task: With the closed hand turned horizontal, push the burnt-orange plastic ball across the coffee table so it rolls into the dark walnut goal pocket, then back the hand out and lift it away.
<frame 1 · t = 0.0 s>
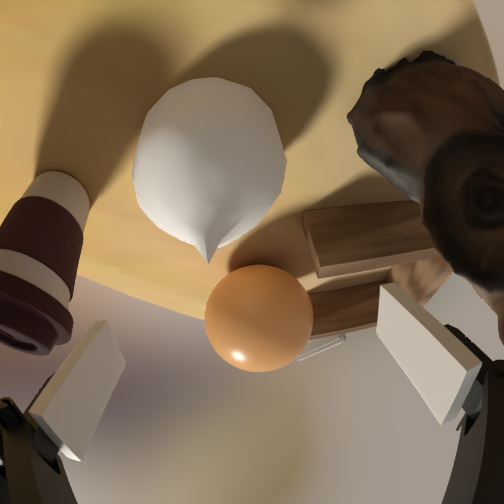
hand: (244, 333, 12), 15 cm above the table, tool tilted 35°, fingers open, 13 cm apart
ball: (259, 318, 33), point 6 cm above the table
coffee cup: (61, 196, 22), on the table
goal pocket: (359, 257, 37), on the table
cassette: (310, 313, 51), on the table
teardrop: (208, 139, 21), on the table
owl: (410, 111, 19), on the table
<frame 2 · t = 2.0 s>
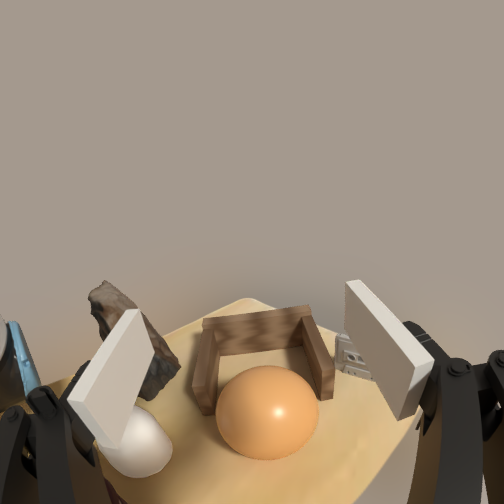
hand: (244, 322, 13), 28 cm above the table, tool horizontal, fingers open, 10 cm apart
ball: (267, 413, 30), point 6 cm above the table
goal pocket: (263, 374, 47), on the table
cassette: (364, 376, 42), on the table
teardrop: (139, 451, 31), on the table
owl: (152, 378, 48), on the table
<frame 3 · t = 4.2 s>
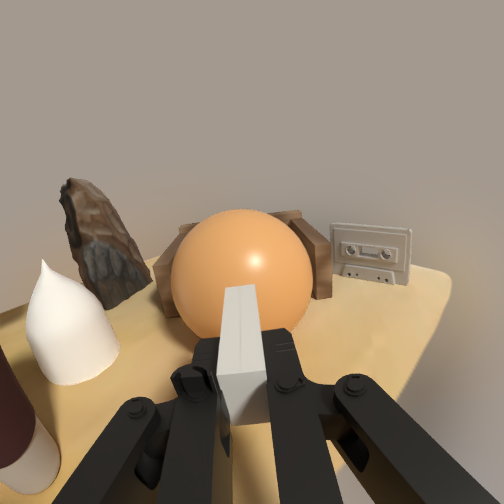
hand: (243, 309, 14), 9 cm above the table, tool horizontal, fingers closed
ball: (241, 280, 25), point 6 cm above the table
coffee cup: (31, 464, 10), on the table
goal pocket: (246, 280, 42), on the table
cassette: (368, 279, 37), on the table
teardrop: (80, 357, 26), on the table
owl: (118, 293, 43), on the table
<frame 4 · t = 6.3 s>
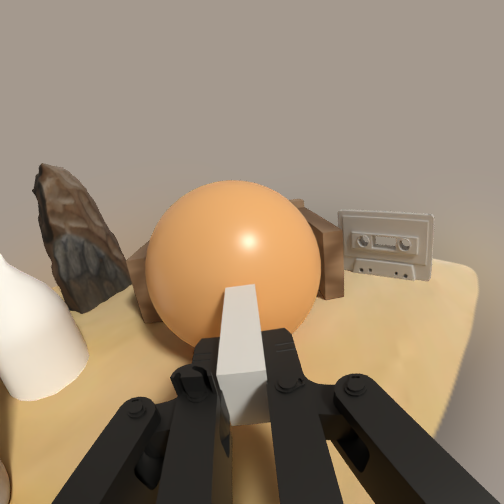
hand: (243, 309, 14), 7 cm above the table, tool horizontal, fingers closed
ball: (232, 268, 21), point 6 cm above the table, tilted 9°, touching gripper
goal pocket: (241, 278, 36), on the table
cassette: (384, 276, 31), on the table
teardrop: (45, 367, 19), on the table
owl: (97, 294, 36), on the table
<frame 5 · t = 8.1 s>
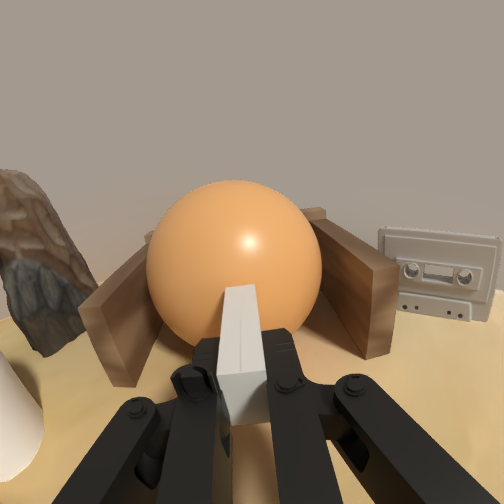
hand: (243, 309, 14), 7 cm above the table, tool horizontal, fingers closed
ball: (233, 268, 21), point 6 cm above the table, tilted 62°, touching gripper
goal pocket: (244, 317, 26), on the table
cassette: (432, 314, 21), on the table
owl: (66, 328, 27), on the table
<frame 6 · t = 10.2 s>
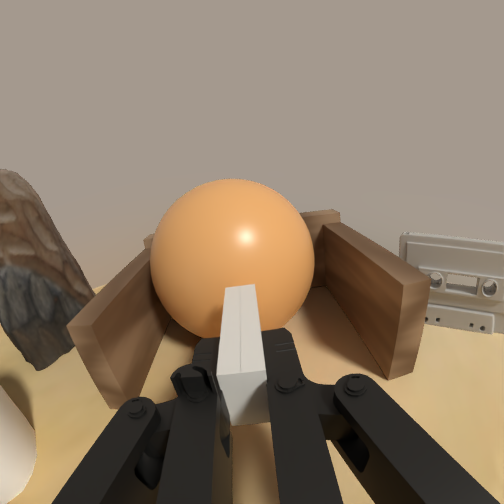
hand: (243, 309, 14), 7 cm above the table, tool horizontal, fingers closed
ball: (232, 261, 22), point 6 cm above the table, tilted 92°
goal pocket: (253, 331, 24), on the table
cassette: (453, 326, 18), on the table
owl: (61, 337, 25), on the table
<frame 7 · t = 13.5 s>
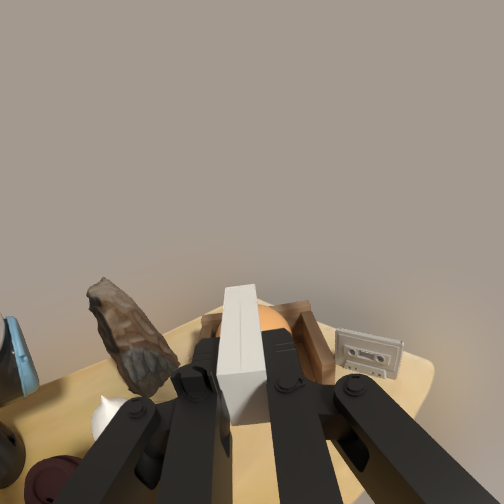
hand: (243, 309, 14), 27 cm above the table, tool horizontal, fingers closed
ball: (253, 342, 45), point 6 cm above the table, tilted 90°
goal pocket: (263, 370, 46), on the table
cassette: (365, 371, 41), on the table
teardrop: (137, 448, 30), on the table
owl: (151, 376, 47), on the table
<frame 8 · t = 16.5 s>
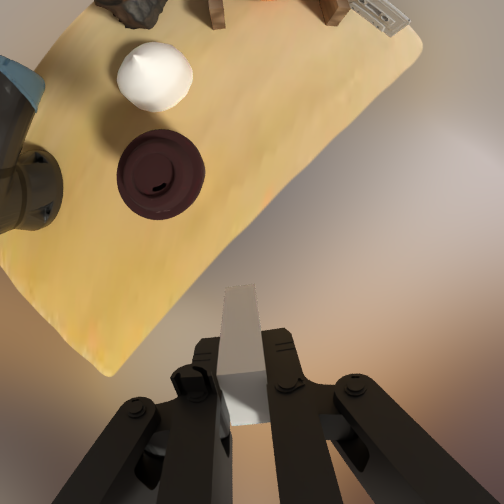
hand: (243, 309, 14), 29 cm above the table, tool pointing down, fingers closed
coffee cup: (182, 172, 40), on the table
cassette: (365, 17, 32), on the table
teardrop: (159, 81, 36), on the table
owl: (145, 5, 30), on the table
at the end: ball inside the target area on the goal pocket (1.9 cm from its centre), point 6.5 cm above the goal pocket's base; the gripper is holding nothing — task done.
